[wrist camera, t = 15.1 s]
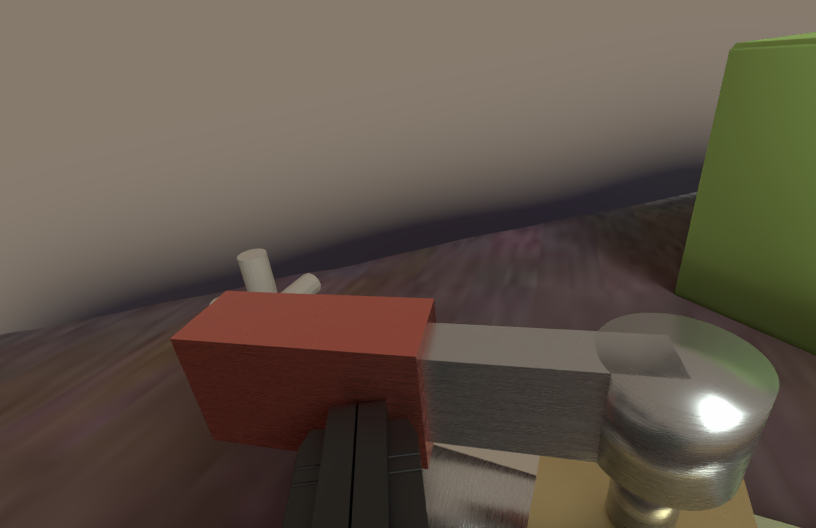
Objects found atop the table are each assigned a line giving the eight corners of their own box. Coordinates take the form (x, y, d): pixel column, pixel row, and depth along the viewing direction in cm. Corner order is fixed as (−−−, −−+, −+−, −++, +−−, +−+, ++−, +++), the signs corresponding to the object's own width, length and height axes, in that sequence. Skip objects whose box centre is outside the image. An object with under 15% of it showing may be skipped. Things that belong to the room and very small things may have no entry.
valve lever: (702, 413, 12) (737, 299, 11) (766, 536, 9) (831, 404, 7) (264, 373, 16) (235, 283, 14) (204, 452, 13) (156, 350, 11)
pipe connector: (184, 406, 29) (128, 283, 24) (277, 326, 37) (247, 222, 32) (301, 445, 25) (258, 306, 20) (375, 345, 33) (357, 230, 29)
